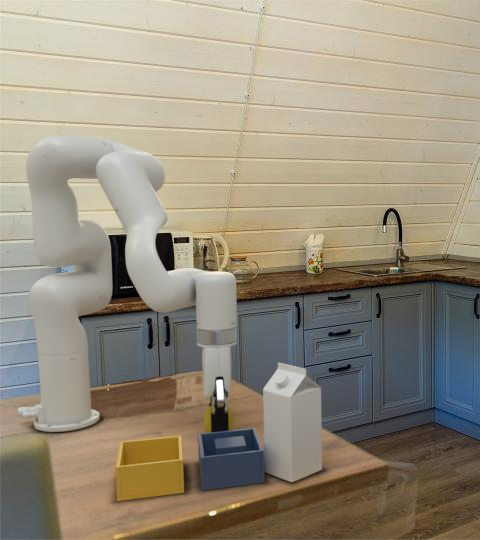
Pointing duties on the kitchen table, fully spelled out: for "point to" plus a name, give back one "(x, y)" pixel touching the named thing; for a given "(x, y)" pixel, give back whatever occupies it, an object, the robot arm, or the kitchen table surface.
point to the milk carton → (292, 424)
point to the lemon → (208, 419)
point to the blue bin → (230, 461)
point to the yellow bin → (149, 468)
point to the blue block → (230, 445)
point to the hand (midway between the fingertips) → (218, 426)
